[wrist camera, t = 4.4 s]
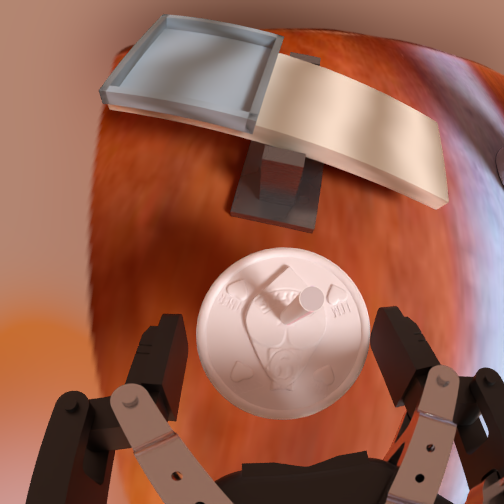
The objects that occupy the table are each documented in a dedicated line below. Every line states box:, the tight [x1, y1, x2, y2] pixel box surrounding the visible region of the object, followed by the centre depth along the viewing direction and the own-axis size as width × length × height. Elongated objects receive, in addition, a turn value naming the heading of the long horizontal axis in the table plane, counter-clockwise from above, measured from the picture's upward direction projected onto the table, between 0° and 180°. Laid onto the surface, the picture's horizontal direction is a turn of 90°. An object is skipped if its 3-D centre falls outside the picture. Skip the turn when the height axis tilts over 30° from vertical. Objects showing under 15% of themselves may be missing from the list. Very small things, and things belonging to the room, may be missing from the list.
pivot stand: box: [230, 52, 324, 233], centre depth 21 cm, size 6×14×6 cm, turn 167°
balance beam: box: [99, 14, 449, 210], centre depth 18 cm, size 24×10×3 cm, turn 77°
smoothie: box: [196, 248, 370, 420], centre depth 13 cm, size 6×6×14 cm
